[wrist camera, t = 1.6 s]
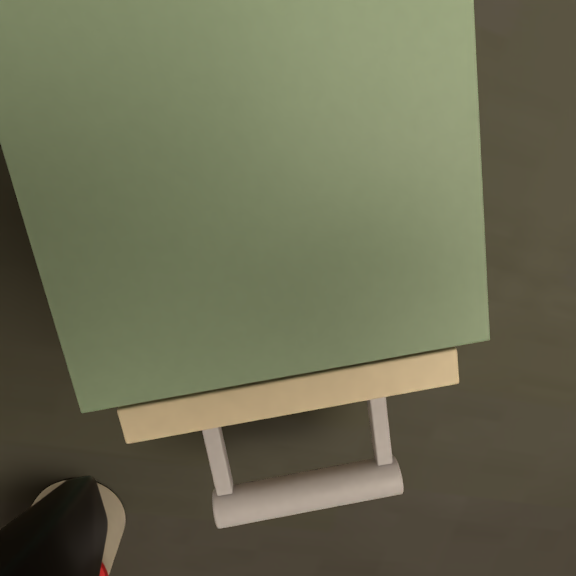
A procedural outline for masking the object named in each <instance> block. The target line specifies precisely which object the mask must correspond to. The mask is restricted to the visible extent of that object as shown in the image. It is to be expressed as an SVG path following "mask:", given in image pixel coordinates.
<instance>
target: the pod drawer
mask: <svg viewBox="0 0 576 576" xmlns="http://www.w3.org/2000/svg"><path fill="white" fill-rule="evenodd" d="M458 383H459V372H458V358H457V349H456V348H455V347H448V348H443V349H437V350H432V351H426V352H421V353H415V354H409V355H404V356H398V357H393V358H387V359H382V360H376V361H370V362H365V363H359V364H354V365H348V366H342V367H337V368H331V369H326V370H320V371H315V372H309V373H303V374H298V375H292V376H287V377H281V378H276V379H270V380H264V381H259V382H253V383H248V384H242V385H237V386H231V387H225V388H220V389H214V390H209V391H203V392H197V393H192V394H186V395H181V396H175V397H170V398H164V399H158V400H153V401H147V402H142V403H136V404H131V405H125V406H119V407H118V409H117V412H118V416H119V420H120V423H121V427H122V430H123V434H124V438H125V441H126V443H127V444H130V443H135V442H141V441H146V440H152V439H157V438H163V437H168V436H174V435H179V434H185V433H190V432H196V431H201V430H202V433H203V437H204V442H205V446H206V450H207V455H208V459H209V463H210V468H211V472H212V476H213V481H214V485H215V489H214V490H213V494H212V506H213V514H214V520H215V524H216V526H217V528H219V529H220V528H225V527H231V526H236V525H241V524H246V523H252V522H257V521H262V520H267V519H273V518H278V517H283V516H288V515H294V514H299V513H304V512H309V511H315V510H320V509H325V508H330V507H336V506H341V505H346V504H351V503H357V502H362V501H367V500H372V499H378V498H383V497H388V496H393V495H399V494H402V493H403V480H402V475H401V471H400V467H399V464H398V462H397V460H396V458H395V457H394V456H393V455H392V450H391V441H390V432H389V423H388V414H387V406H386V397H388V396H393V395H399V394H404V393H410V392H415V391H420V390H426V389H431V388H437V387H442V386H448V385H453V384H458ZM366 400H367V405H368V414H369V422H370V430H371V438H372V446H373V454H374V459H368V460H363V461H358V462H352V463H347V464H342V465H336V466H331V467H326V468H320V469H315V470H310V471H304V472H299V473H294V474H288V475H283V476H278V477H272V478H267V479H262V480H256V481H251V482H246V483H240V484H235V485H233V480H232V475H231V470H230V466H229V461H228V457H227V452H226V447H225V443H224V438H223V434H222V429H221V427H223V426H229V425H234V424H240V423H245V422H251V421H256V420H261V419H267V418H272V417H278V416H283V415H289V414H294V413H300V412H305V411H311V410H316V409H322V408H327V407H333V406H338V405H344V404H349V403H355V402H360V401H366Z"/></svg>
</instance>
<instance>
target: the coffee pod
mask: <svg viewBox="0 0 576 576" xmlns="http://www.w3.org/2000/svg"><path fill="white" fill-rule="evenodd" d="M65 481H66V480H64V481H60V482H57V483H55V484H53V485H51V486H49V487H47V488H46V489H45V490H43V491H42V492H41V493H40V494H39V495H38V497H37V498H36V499H35V501H34V503H33V504H32V506H33V505H34V504H35V503H37V502H38V501H39V500H41V499H42V498H43V497H45V496H46V495H47V494H49V493H50V492H51V491H53V490H54V489H55V488H57V487H58V486H59V485H61V484H62V483H63V482H65ZM97 485H98V488H99V491H100V495H101V498H102V501H103V505H104V508H105V511H106V515H107V520H108V531H107V537H106V542H105V548H104V553H103V559H102V564H101V570H100V575H99V576H109V573H110V570H111V567H112V564H113V561H114V558H115V555H116V552H117V549H118V546H119V543H120V540H121V537H122V534H123V531H124V528H125V521H126V518H125V512H124V508H123V506H122V503H121V502H120V500H119V499H118V497H117V496H116V495H115V494H114V493H113V492H112V491H111V490H109V489H108V488H107V487H105V486H103V485H101V484H99V483H97Z"/></svg>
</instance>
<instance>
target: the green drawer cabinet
mask: <svg viewBox="0 0 576 576" xmlns="http://www.w3.org/2000/svg"><path fill="white" fill-rule="evenodd" d="M0 144H1V147H2V150H3V154H4V157H5V160H6V164H7V167H8V170H9V174H10V177H11V180H12V184H13V187H14V190H15V194H16V197H17V200H18V204H19V207H20V210H21V214H22V217H23V220H24V224H25V227H26V230H27V234H28V237H29V240H30V244H31V247H32V250H33V254H34V257H35V260H36V264H37V267H38V270H39V274H40V277H41V280H42V284H43V287H44V290H45V294H46V297H47V300H48V304H49V307H50V310H51V314H52V317H53V320H54V324H55V327H56V330H57V334H58V337H59V340H60V344H61V347H62V350H63V354H64V357H65V360H66V364H67V367H68V370H69V374H70V377H71V380H72V384H73V387H74V390H75V394H76V397H77V400H78V404H79V407H80V410H81V413H86V412H92V411H97V410H103V409H108V408H114V407H119V406H125V405H131V404H136V403H142V402H147V401H153V400H158V399H164V398H170V397H175V396H181V395H186V394H192V393H197V392H203V391H209V390H214V389H220V388H225V387H231V386H237V385H242V384H248V383H253V382H259V381H264V380H270V379H276V378H281V377H287V376H292V375H298V374H303V373H309V372H315V371H320V370H326V369H331V368H337V367H342V366H348V365H354V364H359V363H365V362H370V361H376V360H382V359H387V358H393V357H398V356H404V355H409V354H415V353H421V352H426V351H432V350H437V349H443V348H448V347H454V346H460V345H465V344H471V343H476V342H482V341H487V340H490V331H489V311H488V290H487V269H486V248H485V228H484V207H483V186H482V166H481V145H480V124H479V103H478V83H477V62H476V41H475V20H474V0H0Z"/></svg>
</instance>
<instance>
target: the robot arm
mask: <svg viewBox="0 0 576 576" xmlns="http://www.w3.org/2000/svg"><path fill="white" fill-rule="evenodd" d="M107 531H108V520H107V515H106V511H105V508H104V505H103V501H102V498H101V495H100V491H99V488H98V485H97V482H96V480H95V479H94V478H93V477H92V476H84V477H78V478H73V479H69V480H66V481H65V482H63V483H62V484H61V485H59V486H58V487H57V488H55V489H54V490H53V491H51V492H50V493H49V494H47V495H46V496H45V497H43V498H42V499H41V500H39V501H38V502H37V503H35V504H34V505H33V506H31V507H30V508H29V509H27V510H26V511H25V512H23V513H22V514H21V515H19V516H18V517H17V518H15V519H14V520H13V521H11V522H10V523H9V524H7V525H6V526H5V527H3V528H2V529H1V530H0V576H99V575H100V570H101V564H102V559H103V553H104V548H105V542H106V537H107Z"/></svg>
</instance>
